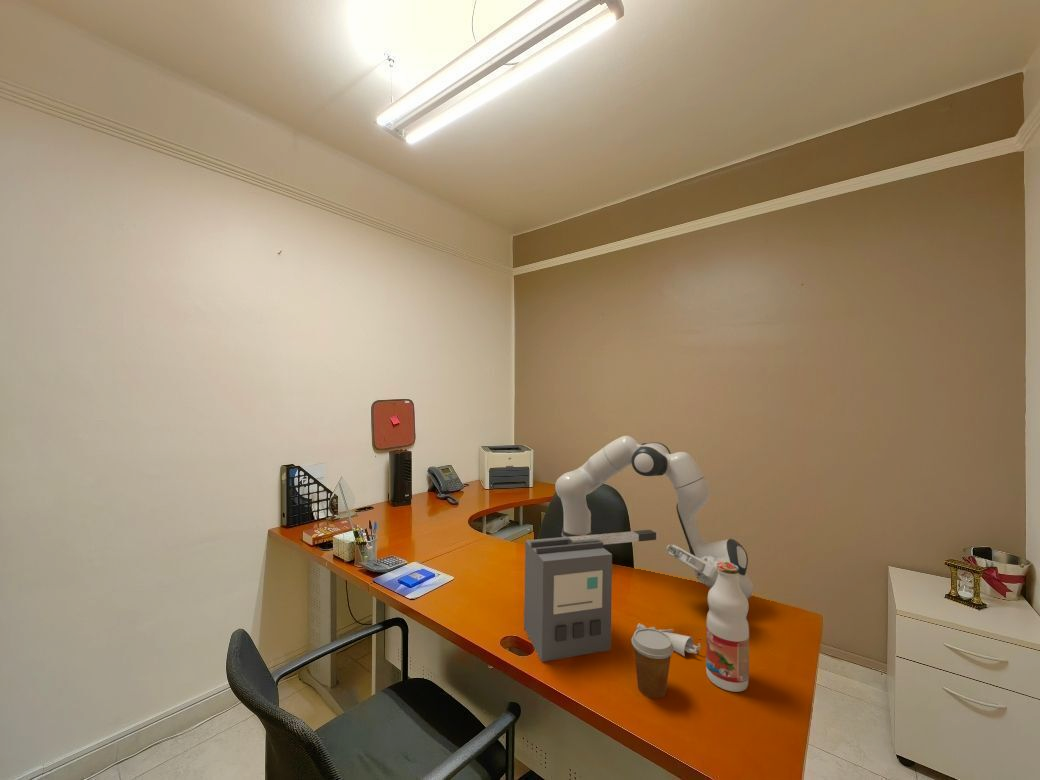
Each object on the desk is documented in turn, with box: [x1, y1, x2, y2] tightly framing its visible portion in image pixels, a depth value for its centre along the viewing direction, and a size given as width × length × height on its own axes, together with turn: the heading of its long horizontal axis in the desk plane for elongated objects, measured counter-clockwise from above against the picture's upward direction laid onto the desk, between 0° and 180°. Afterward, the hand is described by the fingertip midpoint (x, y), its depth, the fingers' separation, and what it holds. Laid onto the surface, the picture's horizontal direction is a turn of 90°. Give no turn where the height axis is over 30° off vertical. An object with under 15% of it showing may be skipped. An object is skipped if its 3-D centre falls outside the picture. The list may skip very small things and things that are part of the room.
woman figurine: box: [636, 623, 701, 657], centre depth 116 cm, size 12×4×18 cm
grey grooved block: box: [523, 535, 613, 663], centre depth 117 cm, size 17×20×27 cm
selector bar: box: [568, 529, 659, 546], centre depth 122 cm, size 3×28×2 cm, turn 106°
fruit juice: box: [705, 562, 750, 693], centre depth 101 cm, size 9×9×28 cm
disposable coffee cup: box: [630, 627, 674, 699], centre depth 97 cm, size 10×10×12 cm
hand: (678, 553), depth 128 cm, fingers open, 8 cm apart
